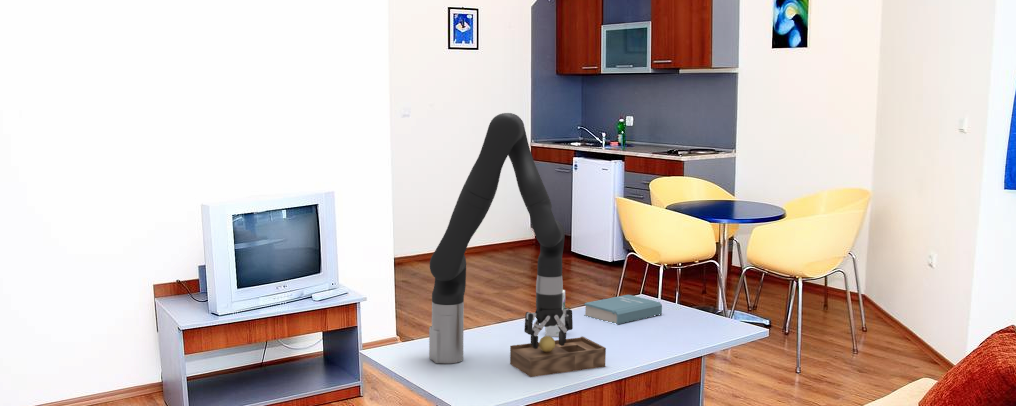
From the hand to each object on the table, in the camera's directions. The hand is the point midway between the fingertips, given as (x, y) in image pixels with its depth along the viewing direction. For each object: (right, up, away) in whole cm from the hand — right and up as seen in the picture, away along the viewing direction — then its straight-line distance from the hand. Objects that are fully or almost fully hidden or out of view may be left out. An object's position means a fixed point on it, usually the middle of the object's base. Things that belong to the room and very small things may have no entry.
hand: (548, 346), depth 254 cm
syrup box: (+4, -2, +35) cm, 35 cm away
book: (+29, 0, +61) cm, 68 cm away
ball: (0, +1, 0) cm, 1 cm away
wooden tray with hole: (+3, -6, +2) cm, 7 cm away
